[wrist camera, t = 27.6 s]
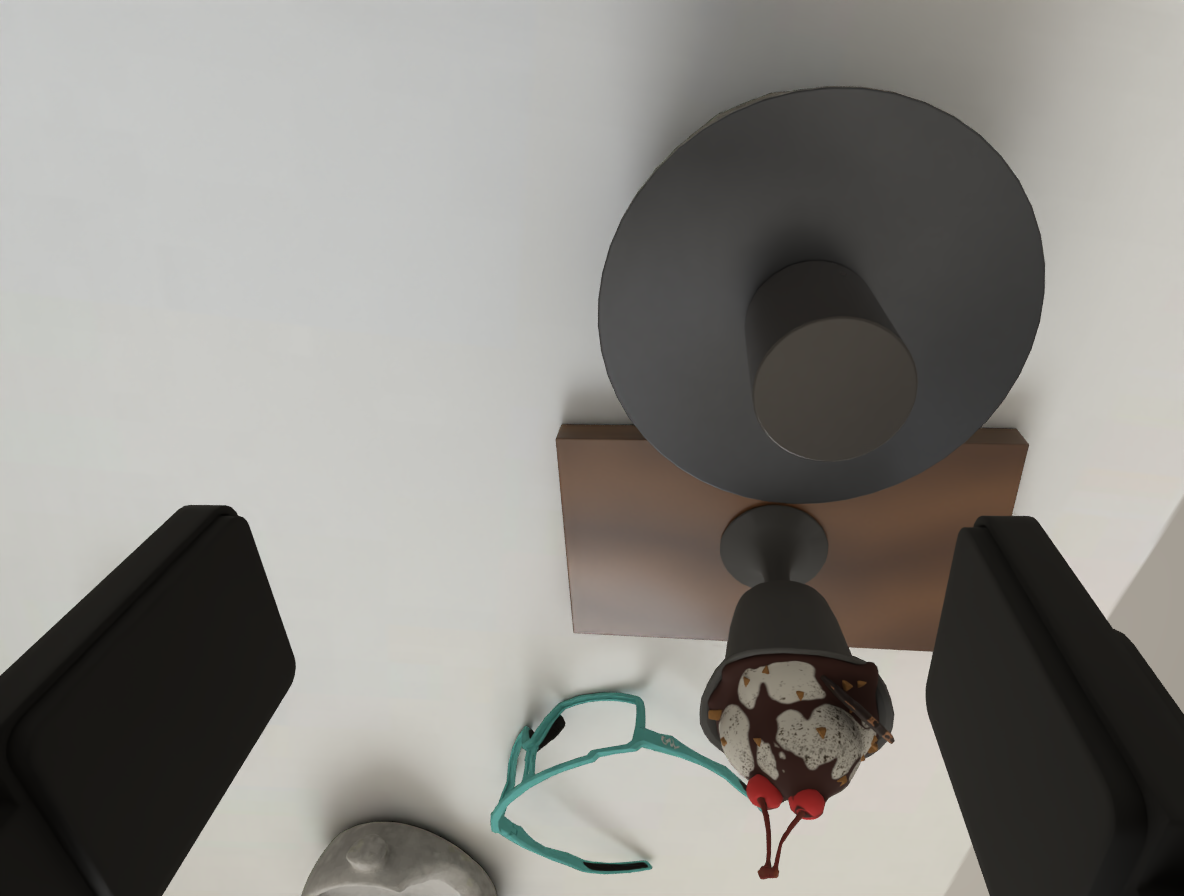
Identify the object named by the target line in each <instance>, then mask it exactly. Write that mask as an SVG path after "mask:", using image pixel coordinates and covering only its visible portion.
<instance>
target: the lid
mask: <svg viewBox="0 0 1184 896" xmlns="http://www.w3.org/2000/svg"><path fill="white" fill-rule="evenodd" d="M1044 293H1045V261H1044V254H1043V247H1042V240H1041V234H1040V231H1039V227H1038V224H1037V221H1036V218H1035V214H1034V211H1033V208H1032V206H1031V204H1030V202H1029V200H1028V197H1027V195H1026V193H1025V191H1024V189H1023V187H1022V185H1021V183H1020V181H1019V180H1018V178H1017V177H1016V176H1015V174H1014V173H1013V171H1012V170H1011V169H1010V167H1009V166H1008V164H1007V163H1006V162H1005V160H1004V159H1003V158H1002V156H1001V155H1000V154H999V153H998V152H997V151H996V150H995V149H994V148H993V147H992V146H991V145H990V144H989V143H988V142H987V141H986V140H985V139H984V138H983V137H982V136H981V135H980V134H978V133H977V132H976V131H974V130H973V129H971V128H970V127H968V126H967V125H966V124H964V123H963V122H961V121H960V120H959V119H957V118H956V117H954V116H952V115H950V114H948V113H946V112H944V111H942V110H940V109H938V108H936V107H934V106H932V105H930V104H928V103H926V102H923V101H920V100H917V99H914V98H911V97H908V96H904V95H901V94H898V93H895V92H891V91H885V90H879V89H872V88H866V87H856V86H824V87H816V88H808V89H800V90H793V91H789V92H786V93H782V94H778V95H774V96H771V97H767V98H763V99H760V100H758V101H756V102H753V103H751V104H748V105H746V106H744V107H741V108H739V109H736V110H734V111H732V112H730V113H728V114H726V115H725V116H723V117H721V118H719V119H718V120H716V121H714V122H712V123H711V124H709V125H707V126H705V127H704V128H702V129H701V130H700V131H698V132H697V133H696V134H694V135H693V136H692V137H691V138H689V139H688V140H687V141H685V142H684V143H683V144H681V145H680V146H679V147H678V148H677V149H676V150H675V151H674V152H672V153H671V154H670V155H669V156H668V157H667V158H666V159H665V160H664V161H663V162H662V163H661V164H660V165H659V166H658V167H657V168H656V169H655V171H654V172H653V173H652V174H651V176H650V177H649V178H648V180H647V181H646V182H645V183H644V185H643V186H642V187H641V188H640V190H639V191H638V192H637V194H636V196H635V197H634V199H633V201H632V202H631V204H630V206H629V207H628V209H627V211H626V212H625V214H624V216H623V217H622V219H621V222H620V224H619V226H618V228H617V231H616V233H615V235H614V238H613V240H612V242H611V245H610V247H609V251H608V254H607V258H606V261H605V265H604V268H603V272H602V278H601V285H600V292H599V298H598V329H599V337H600V345H601V352H602V356H603V359H604V363H605V367H606V371H607V374H608V377H609V379H610V382H611V384H612V387H613V389H614V391H615V394H616V396H617V398H618V400H619V402H620V403H621V405H622V407H623V408H624V410H625V412H626V414H627V415H628V417H629V419H630V420H631V421H632V422H633V424H634V425H635V426H636V428H637V429H638V430H639V431H640V433H641V434H642V435H643V437H644V438H645V439H646V440H647V441H648V442H649V443H650V444H651V445H652V446H653V447H654V448H655V449H656V450H657V451H658V452H659V453H660V454H662V455H663V456H664V457H666V458H667V459H668V460H669V461H671V462H672V463H673V464H675V465H676V466H677V467H679V468H680V469H682V470H683V471H685V472H687V473H688V474H690V475H692V476H693V477H695V478H697V479H698V480H700V481H702V482H705V483H707V484H709V485H711V486H714V487H716V488H718V489H721V490H723V491H726V492H729V493H733V494H736V495H739V496H742V497H746V498H751V499H756V500H761V501H767V502H774V503H787V504H816V503H827V502H834V501H842V500H848V499H852V498H856V497H860V496H864V495H868V494H872V493H875V492H878V491H881V490H883V489H886V488H889V487H892V486H894V485H897V484H899V483H901V482H903V481H905V480H908V479H910V478H912V477H914V476H916V475H918V474H920V473H922V472H923V471H925V470H927V469H928V468H930V467H932V466H933V465H935V464H936V463H938V462H940V461H941V460H943V459H944V458H946V457H947V456H948V455H950V454H951V453H952V452H953V451H955V450H956V449H957V448H958V447H960V446H961V445H962V444H964V443H965V442H966V441H967V440H968V439H969V438H970V437H971V436H972V435H973V434H974V433H975V432H976V431H977V430H978V429H979V428H980V427H981V426H982V425H983V424H984V423H986V422H987V420H988V419H989V418H990V417H991V415H992V414H993V413H994V412H995V410H996V409H997V408H998V407H999V405H1000V404H1001V403H1002V402H1003V400H1004V399H1005V398H1006V396H1007V394H1008V393H1009V391H1010V390H1011V388H1012V386H1013V385H1014V383H1015V381H1016V380H1017V378H1018V377H1019V375H1020V373H1021V371H1022V369H1023V366H1024V364H1025V362H1026V360H1027V358H1028V355H1029V353H1030V351H1031V349H1032V346H1033V342H1034V339H1035V336H1036V333H1037V329H1038V326H1039V323H1040V318H1041V312H1042V305H1043V299H1044Z"/></svg>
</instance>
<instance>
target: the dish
mask: <svg viewBox="0 0 1184 896" xmlns="http://www.w3.org/2000/svg"><path fill="white" fill-rule="evenodd" d="M301 896H497V893H496V890H495V887H494V885H493V883H492V881H491V880H490V878H489V876H488V875H487V874H486V872H485V871H484V870H483V869H482V868H481V866H480V865H479V864H478V863H476V862H475V861H474V860H473V859H472V858H471V857H470V856H469V855H468V854H466V853H465V852H464V851H462V850H461V849H460V848H458V847H457V846H455V845H453V844H452V843H450V842H449V841H447V840H445V839H443V838H441V837H439V836H437V835H435V834H433V833H431V832H429V831H426V830H424V829H421V828H418V827H415V826H411V825H407V824H403V823H396V822H371V823H365V824H360V825H357V826H354V827H352V828H350V829H347V830H345V831H344V832H342V833H340V834H339V835H338V836H337V837H336V838H335V839H334V840H333V841H332V842H331V843H330V844H329V845H328V847H327V848H326V849H325V850H324V852H323V853H322V855H321V856H320V858H319V859H318V861H317V862H316V864H315V866H314V868H313V869H312V871H311V873H310V875H309V877H308V879H307V882H306V884H305V887H304V889H303V892H302V895H301Z"/></svg>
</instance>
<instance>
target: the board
mask: <svg viewBox="0 0 1184 896" xmlns="http://www.w3.org/2000/svg"><path fill="white" fill-rule="evenodd" d="M1028 447H1029V444H1028V443H1027V441H1026V440H1025V439H1024V437H1023V436H1022V435H1021V434H1020V432H1019V431H1018V430H1017V429H1008V428H979V429H978V430H977V431H976V432H975V433H974V434H973V435H972V436H971V437H970V438H969V439H968V440H967V441H966V442H965V443H964V444H962V445H961V446H960V447H958V448H957V449H956V450H955V451H953V452H952V453H951V454H950V455H948V456H947V457H946V458H944V459H943V460H941V461H940V462H938V463H936V464H935V465H933V466H932V467H930V468H928V469H927V470H925V471H923V472H922V473H920V474H918V475H916V476H914V477H912V478H910V479H908V480H905V481H903V482H901V483H899V484H897V485H894V486H892V487H889V488H886V489H883V490H881V491H878V492H875V493H872V494H868V495H864V496H860V497H856V498H852V499H848V500H842V501H834V502H827V503H816V504H787V503H774V502H767V501H761V500H756V499H751V498H746V497H742V496H739V495H736V494H733V493H729V492H726V491H723V490H721V489H718V488H716V487H714V486H711V485H709V484H707V483H705V482H702V481H700V480H698V479H697V478H695V477H693V476H692V475H690V474H688V473H687V472H685V471H683V470H682V469H680V468H679V467H677V466H676V465H675V464H673V463H672V462H671V461H669V460H668V459H667V458H666V457H664V456H663V455H662V454H660V453H659V452H658V451H657V450H656V449H655V448H654V447H653V446H652V445H651V444H650V443H649V442H648V441H647V440H646V439H645V438H644V437H643V435H642V434H641V433H640V431H639V430H638V429H637V428H636V426H635V425H586V424H562V425H561V427H560V429H559V432H558V434H557V437H556V448H557V459H558V470H559V480H560V491H561V502H562V513H563V524H564V534H565V545H566V556H567V567H568V578H569V588H570V599H571V610H572V621H573V632H574V633H584V634H603V635H622V636H641V637H661V638H680V639H699V640H719V641H728V636H729V630H730V625H731V621H732V618H733V615H734V611H735V608H736V606H737V604H738V601H739V600H740V598H741V596H742V595H743V594H744V593H745V592H746V591H748V590H749V589H751V587H748V586H746V585H744V584H741V583H740V582H739V581H738V580H736V579H735V578H734V577H733V576H732V575H731V574H730V573H729V572H728V571H727V569H726V568H725V566H724V564H723V561H722V559H721V556H720V543H721V538H722V536H723V534H724V532H725V530H726V528H727V527H728V525H729V524H730V523H731V522H732V521H733V520H734V519H735V518H737V517H738V516H740V515H741V514H743V513H744V512H746V511H748V510H751V509H754V508H757V507H762V506H766V505H781V506H789V507H792V508H795V509H798V510H801V511H803V512H805V513H807V514H809V515H810V516H811V517H812V518H814V519H815V520H816V521H817V522H818V523H819V524H820V525H821V527H822V528H823V530H824V532H825V534H826V537H827V541H828V554H827V558H826V562H825V563H824V565H823V567H822V568H821V570H820V571H819V572H818V573H817V575H816V576H815V577H814V578H813V579H811V580H810V581H808V582H807V583H805V584H806V585H809V586H811V587H813V588H814V589H816V590H817V591H818V592H819V593H820V594H821V595H822V596H823V597H824V598H825V600H826V601H827V603H828V605H829V606H830V608H831V610H832V612H833V613H834V615H835V617H836V619H837V621H838V623H839V625H840V628H841V630H842V633H843V635H844V638H845V640H846V643H847V645H848V647H854V648H873V649H892V650H911V651H931V652H933V650H934V645H935V641H936V636H937V631H938V626H939V622H940V617H941V612H942V607H943V603H944V598H945V593H946V588H947V583H948V579H949V574H950V569H951V564H952V560H953V555H954V550H955V545H956V541H957V537H958V533H959V531H960V530H961V528H963V527H973V526H974V523H975V521H976V520H977V518H978V517H980V516H1012V512H1013V508H1014V504H1015V500H1016V496H1017V492H1018V488H1019V484H1020V480H1021V475H1022V471H1023V467H1024V463H1025V459H1026V455H1027V451H1028Z"/></svg>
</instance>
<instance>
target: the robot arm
mask: <svg viewBox="0 0 1184 896" xmlns="http://www.w3.org/2000/svg"><path fill="white" fill-rule="evenodd" d="M295 669H296V666H295V658H294V655H293V652H292V649H291V646H290V643H289V640H288V637H287V634H286V631H285V629H284V626H283V623H282V620H281V617H280V614H279V611H278V608H277V605H276V602H275V599H274V597H273V594H272V591H271V588H270V585H269V582H268V579H267V576H266V573H265V570H264V567H263V565H262V562H261V559H260V556H259V553H258V550H257V547H256V544H255V541H254V538H253V535H252V533H251V530H250V527H249V524H248V522H247V521H246V520H245V519H244V518H243V517H240V516H238V515H237V513H236V511H235V510H234V509H233V508H232V507H229V506H226V505H188V506H184V507H182V508H180V509H179V510H178V511H177V512H175V513H174V514H173V515H172V516H171V517H170V518H169V519H168V520H167V521H166V522H165V523H164V524H163V525H161V526H160V527H159V528H158V529H157V530H156V531H155V532H154V533H153V534H152V535H151V536H150V537H149V538H148V539H146V540H145V541H144V542H143V543H142V544H141V545H140V546H139V547H138V548H137V549H136V550H135V551H134V552H133V553H131V554H130V555H129V556H128V557H127V558H126V559H125V560H124V561H123V562H122V563H121V564H120V565H119V566H118V567H116V568H115V569H114V570H113V571H112V572H111V573H110V574H109V575H108V576H107V577H106V578H105V579H104V580H102V581H101V582H100V583H99V584H98V585H97V586H96V587H95V588H94V589H93V590H92V591H91V592H90V593H89V594H87V595H86V596H85V597H84V598H83V599H82V600H81V601H80V602H79V603H78V604H77V605H76V606H75V607H74V608H72V609H71V610H70V611H69V612H68V613H67V614H66V615H65V616H64V617H63V618H62V619H61V620H60V621H59V622H57V623H56V624H55V625H54V626H53V627H52V628H51V629H50V630H49V631H48V632H47V633H46V634H45V635H43V636H42V637H41V638H40V639H39V640H38V641H37V642H36V643H35V644H34V645H33V646H32V647H31V648H30V649H28V650H27V651H26V652H25V653H24V654H23V655H22V656H21V657H20V658H19V659H18V660H17V661H16V662H15V663H13V664H12V665H11V666H10V667H9V668H8V669H7V670H6V671H5V672H4V673H3V674H2V675H1V676H0V896H162V895H163V893H164V892H165V890H166V888H167V887H168V885H169V884H170V882H171V880H172V879H173V877H174V875H175V874H176V872H177V870H178V869H179V867H180V866H181V864H182V862H183V861H184V859H185V857H186V856H187V854H188V853H189V851H190V849H191V848H192V846H193V844H194V843H195V841H196V840H197V838H198V836H199V835H200V833H201V831H202V830H203V828H204V826H205V825H206V823H207V822H208V820H209V818H210V817H211V815H212V813H213V812H214V810H215V809H216V807H217V805H218V804H219V802H220V800H221V799H222V797H223V796H224V794H225V792H226V791H227V789H228V787H229V786H230V784H231V783H232V781H233V779H234V778H235V776H236V774H237V773H238V771H239V769H240V768H241V766H242V765H243V763H244V761H245V760H246V758H247V756H248V755H249V753H250V752H251V750H252V748H253V747H254V745H255V743H256V742H257V740H258V739H259V737H260V735H261V734H262V732H263V730H264V729H265V727H266V725H267V724H268V722H269V721H270V719H271V717H272V716H273V714H274V712H275V711H276V709H277V708H278V706H279V704H280V703H281V701H282V699H283V698H284V696H285V695H286V693H287V691H288V690H289V688H290V686H291V684H292V682H293V679H294V676H295ZM926 706H927V712H928V715H929V719H930V722H931V725H932V728H933V730H934V733H935V736H936V739H937V742H938V745H939V748H940V751H941V754H942V757H943V760H944V763H945V766H946V769H947V771H948V774H949V777H950V780H951V783H952V786H953V789H954V792H955V795H956V798H957V801H958V804H959V807H960V810H961V812H962V815H963V818H964V821H965V824H966V827H967V830H968V833H969V836H970V839H971V842H972V845H973V848H974V851H975V853H976V856H977V859H978V862H979V865H980V868H981V871H982V874H983V877H984V880H985V883H986V886H987V889H988V891H989V894H990V896H1184V714H1183V713H1182V711H1181V710H1180V708H1179V707H1178V706H1177V704H1176V703H1175V701H1174V700H1173V699H1172V697H1171V696H1170V695H1169V693H1168V692H1167V690H1166V689H1165V687H1164V686H1163V685H1162V683H1161V682H1160V680H1159V679H1158V678H1157V676H1156V675H1155V673H1154V672H1153V671H1152V669H1151V668H1150V666H1149V665H1148V664H1147V662H1146V661H1145V659H1144V658H1143V657H1142V655H1141V654H1140V653H1139V651H1138V650H1137V648H1136V647H1135V645H1134V644H1133V643H1132V642H1131V641H1130V640H1129V639H1128V638H1127V637H1126V636H1125V634H1123V633H1121V632H1119V631H1117V630H1115V629H1113V628H1112V627H1111V625H1110V624H1109V622H1108V621H1107V620H1106V618H1105V617H1104V615H1103V614H1102V612H1101V611H1100V610H1099V608H1098V607H1097V605H1096V604H1095V602H1094V601H1093V600H1092V598H1091V597H1090V595H1089V594H1088V592H1087V591H1086V590H1085V588H1084V587H1083V585H1082V584H1081V582H1080V581H1079V579H1078V578H1077V577H1076V575H1075V574H1074V572H1073V571H1072V569H1071V568H1070V567H1069V565H1068V564H1067V562H1066V561H1065V559H1064V558H1063V557H1062V555H1061V554H1060V552H1059V551H1058V549H1057V548H1056V547H1055V545H1054V544H1053V542H1052V541H1051V539H1050V538H1049V537H1048V535H1047V534H1046V532H1045V531H1044V529H1043V528H1042V527H1041V525H1040V524H1039V522H1038V521H1037V520H1036V519H1035V518H1033V517H1030V516H980V517H978V518H977V520H976V521H975V523H974V526H973V527H963V528H961V530H960V531H959V533H958V537H957V541H956V545H955V550H954V555H953V560H952V564H951V569H950V574H949V579H948V583H947V588H946V593H945V598H944V603H943V607H942V612H941V617H940V622H939V626H938V631H937V636H936V641H935V645H934V650H933V655H932V660H931V664H930V669H929V674H928V679H927V684H926Z"/></svg>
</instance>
